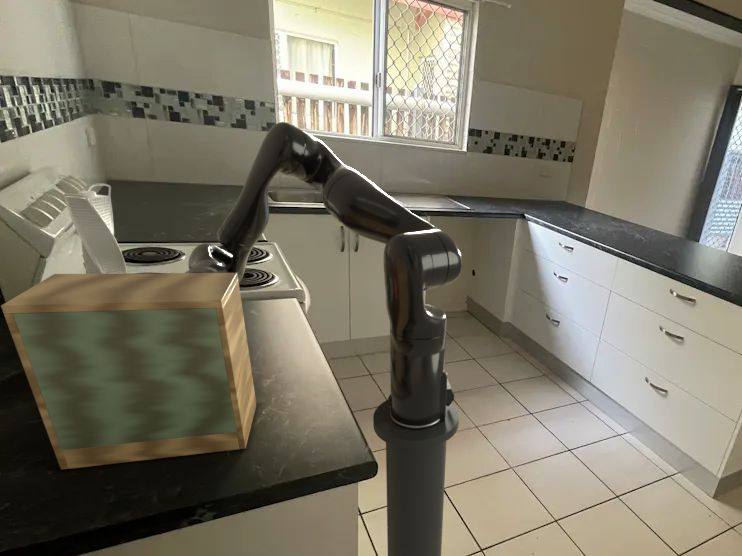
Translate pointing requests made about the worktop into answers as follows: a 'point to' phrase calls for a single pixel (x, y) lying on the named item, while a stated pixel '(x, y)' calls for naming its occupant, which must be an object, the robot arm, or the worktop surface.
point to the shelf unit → (136, 364)
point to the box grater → (96, 231)
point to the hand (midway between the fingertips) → (175, 325)
